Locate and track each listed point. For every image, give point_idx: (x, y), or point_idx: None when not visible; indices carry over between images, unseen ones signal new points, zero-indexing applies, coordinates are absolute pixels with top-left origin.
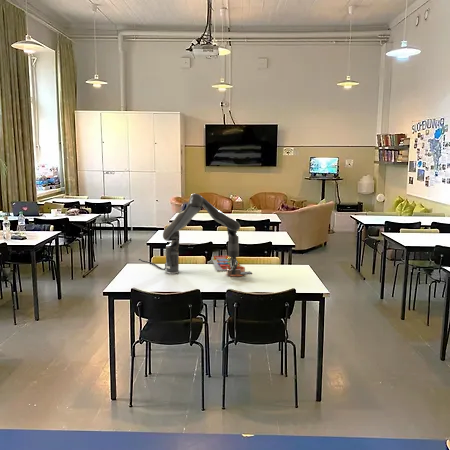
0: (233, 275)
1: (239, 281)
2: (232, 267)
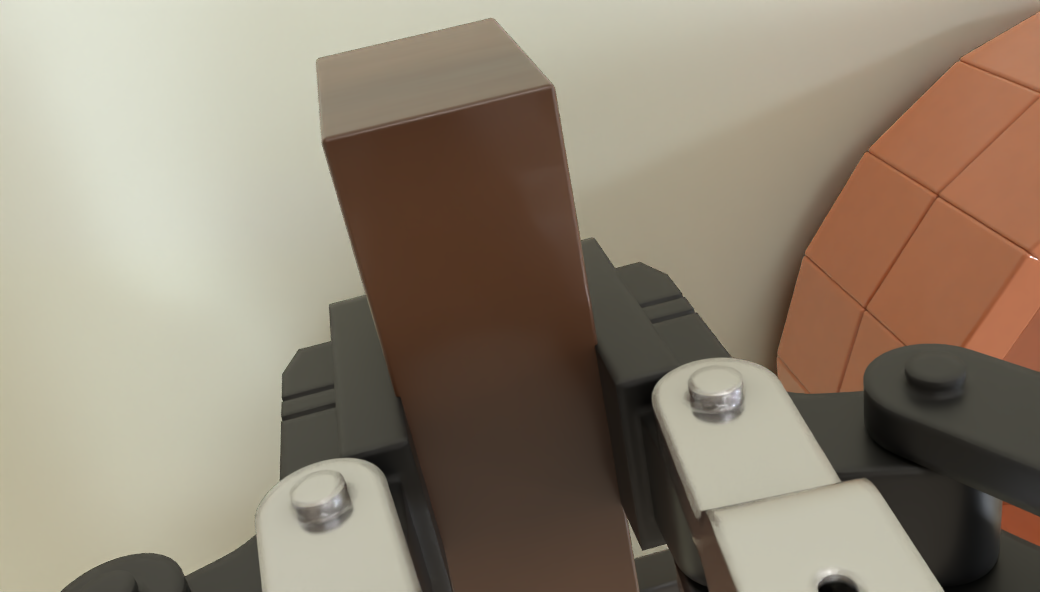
0: (822, 251)
1: (154, 447)
2: (266, 585)
